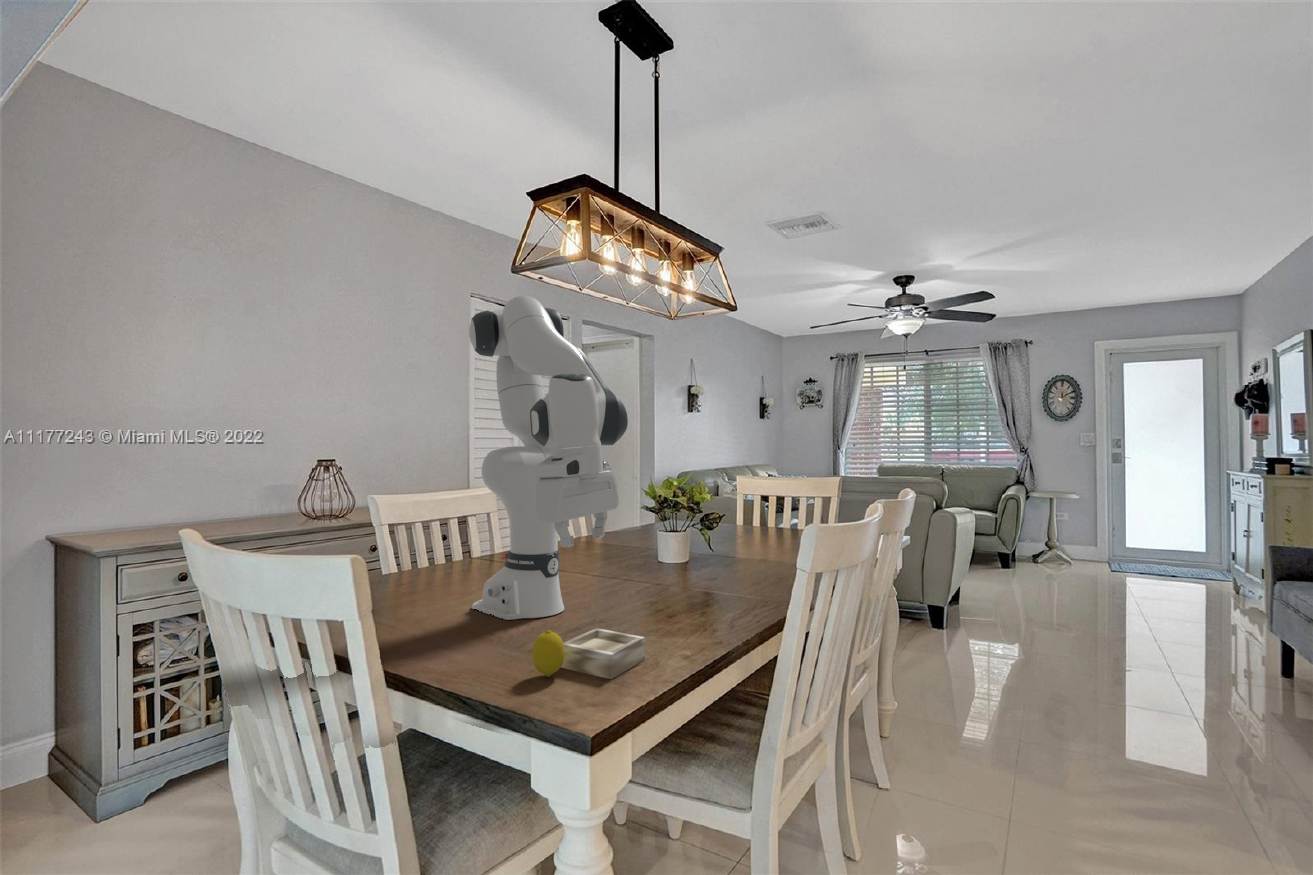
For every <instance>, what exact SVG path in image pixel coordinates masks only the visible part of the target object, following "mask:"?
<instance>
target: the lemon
mask: <svg viewBox="0 0 1313 875" xmlns="http://www.w3.org/2000/svg"><path fill="white" fill-rule="evenodd" d="M563 643H564V642H563V639H562V638H561V635H559V634H557V633H556V632H553V631H552V630H550V629H547V630H546V631H545V632H542V633H541V634H539V635H538V636H537V637H536V639H535V640H534V642H533V644H532V645H533V646H532V651H531V657H532V658H531V660H532V663H533V666H534V668H535V669H536V671H538V672H539V673H541V674H543V675H544V676H546V677H547V678H549V677H551V676H552V675H553V674H554V673H556V672H557V671H559V670H560V668H561V666H562V664H563V661H564V656H565V649H564V644H563Z"/></svg>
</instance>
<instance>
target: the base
mask: <svg viewBox="0 0 1313 875" xmlns="http://www.w3.org/2000/svg"><path fill="white" fill-rule="evenodd" d="M563 644H564V649H565V656H564V661H563V664H562V666H561V667H560V668H561V669H565V670H570V671H575V672H577V673H583V674H587V675H590V676H591V675H592V676H595V677H599V678H604V679H609V680H612V679H614V678H616V677H618V676H620V675H621V674H623V673H625V672H627V671H628V670H630V669H632V668H633V667H635V666H637V665H639V664H640V663H642V662H644V661H645V660H646V637H645V636H640V635H634V634H630V633H626V632H625V633H624V632H620V631H619V632H618V631H615V630H614V631H613V630H609V629H603V628H597V627H596V628H593V629H591V630H589V631H587V632H585V633H582V634H580V635H578V636H575V637H574V638H571V639H568V640H566V641H564V642H563Z"/></svg>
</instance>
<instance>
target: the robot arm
mask: <svg viewBox="0 0 1313 875" xmlns="http://www.w3.org/2000/svg"><path fill="white" fill-rule="evenodd" d="M562 319H563V318H562V316H561V314H560V313H559V312H558V311H557V310H556V309H553V308H549V307H544V306H543V304H542V303H541V302H540V301H539V300H538V299H536V298H535V297H532V296H530V295H529V296H528V295H517V296H514V297H513V298H511V299H510V300H508V301H507V302H506V304H505V305H504V306H503V309H497V310H492V311H490V310H484V311H480V312H477V313H475V314H474V315H473V317H472V318H471V320H470V324H469V327H468V338H469V342H470V343H471V345H472V346H473V349H474V351H475V352H476V353H477V354H478V355H479V356H481V357H489V358H490V357H494V356H498V357H497V362H496V373H495V374H496V390H497V395H498V396H497V397H498V403H499V408H500V413H501V420H502V425H503V427H504V428H505V430H507V431H508V432H509V433H510V434H513V435H514V436H515V437H517V438H518V439H519V440H520V441H521V442H522V444H523V446H521V445H520V446H519V445H518V446H506V447H502V448H501V447H500V448H498V449H494V450H491V451H489V452H488V453H487V455H486V456H485V457H484V459H483V462H482V463H481V477H482V479H483V482H484V484H485V486H486V487H487V488H488V490H489V491H491V492H492V493H493V494H495V495H496V496H497V497H498V499H499V500H500V501H501V502H502V505H503V506H504V508H505V511H506V514H507V518H508V522H509V524H508V525H509V540H510V542H509V544H510V546H509V547H510V548H509V549H510V550H509V551H508V552H506V553H501V556H503V557H501V560H504V559H505V562H504V564H503V565H504V566H503V567H502V568H501V569H499V570H498V571H497V572H496V573H495V574H494V575H492V576H491V577H489V579H487V580H486V581H485V583H484V585H483V588H482V595H481V596H482V597H481V599H478V600H477V601H475V602H474V603H473V604H471V605H472V606H471V609H472V610H474V609H477V610H479V611H478V612H481V611H482V612H481V613H483V614H488V615H490V614H492V615H491V616H493V615H494V616H493V617H496V618H499V619H502V618H503V619H502V620H506V621H508V620H509V621H511V620H519V619H537V618H538V619H539V618H544V617H549V616H550V617H551V616H554V615H557V614H560V613H561V612H564V610H565V605H564V601H563V598H562V592H561V587H560V586H561V585H560V578H559V571H560V570H559V569H560V557H561V556H560V549H558V544H559V543H560V547H561V548H570V547H573V546H574V544H575V542H574V535H571V533H570V531H569V528H568V527H570V521H572V520H575V519H580V518H584V517H588V516H592V515H593V518H594V519H595V521H594V525H593V527H592V528H591V533H592V536H591V537H592V538H594V539H599V538H604V537H605V535H606V534H605V533H606V532H605V526H606V523H607V520H608V511H609V512H610V511H613V510H617V509H618V506H619V504H620V499H619V491H618V485H617V481H616V480H617V479H616V476H615V473H614V472H613V469H612V467H611V465H610V464H609V463H608V462H607V461H606V460H603V449H602V448H603V447H602V446H613V445H615V444H616V443H617V442H619V440H620V439H621V438H622V437H623V436H624V434H626V431H627V429H628V423H629V422H628V421H629V419H628V412H627V410H626V409H627V408H626V407H625V405H624V402H622V400H621V399H620V398H619V397H618V396H617V395H616V394H615V393H613V391H611V389H610V388H609V387H608V385H607V384H606V382H605V381H604V380H603V378H602V377H601V375H600V374H599V371H598V370H597V369H596V368H595V366H594V365H593V363H592V362H591V361H590V359H589V358H588V357H587V355H586V354H585V353H584V351H583V350H582V349H580V348H579V347H577V346H576V345H574V344H573V343H571V342H569V341H568V340H567V339H566V338H564V336H565V325H564V322H563V320H562ZM542 376H543V377H548V378H549V377H550V379H549V382H548V392H547V394H546V395H545V389H544V388H545V387H544V384H543V378H542ZM558 537H559V540H558ZM558 541H559V542H558ZM477 610H476V611H477Z"/></svg>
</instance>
